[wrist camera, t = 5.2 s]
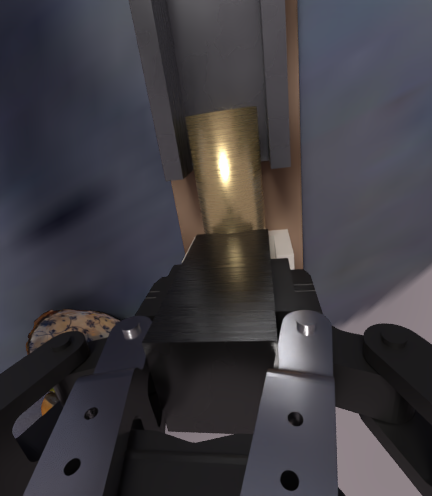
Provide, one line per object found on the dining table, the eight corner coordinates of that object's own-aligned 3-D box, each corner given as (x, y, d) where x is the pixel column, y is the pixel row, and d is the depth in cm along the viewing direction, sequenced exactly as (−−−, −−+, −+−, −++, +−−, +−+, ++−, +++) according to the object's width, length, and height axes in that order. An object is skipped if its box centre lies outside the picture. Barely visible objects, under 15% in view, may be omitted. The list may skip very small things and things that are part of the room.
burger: (204, 364, 24) (183, 462, 17) (120, 420, 28) (77, 516, 22) (87, 265, 21) (7, 335, 15) (15, 344, 26) (-71, 425, 19)
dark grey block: (191, 117, 14) (75, 123, 5) (259, 106, 13) (261, 93, 5) (216, 281, 18) (174, 451, 9) (271, 278, 17) (285, 457, 8)
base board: (132, -59, 13) (120, -74, 12) (291, -102, 12) (294, -123, 11) (197, 288, 21) (194, 297, 19) (300, 282, 19) (303, 292, 18)
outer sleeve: (144, -48, 12) (108, -98, 9) (274, -82, 12) (279, -149, 9) (182, 168, 16) (165, 181, 13) (284, 156, 15) (290, 166, 12)
